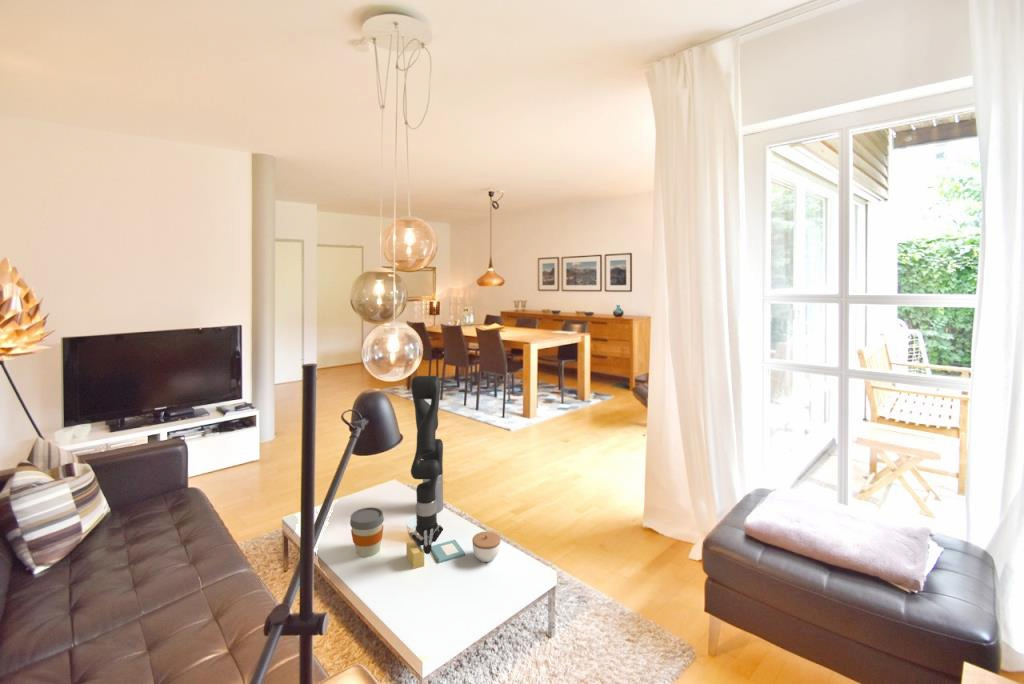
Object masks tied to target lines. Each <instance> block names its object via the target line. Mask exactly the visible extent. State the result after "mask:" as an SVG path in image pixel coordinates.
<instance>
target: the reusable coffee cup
mask: <svg viewBox="0 0 1024 684" xmlns="http://www.w3.org/2000/svg"><path fill="white" fill-rule="evenodd" d="M384 521H385V518H384V512H383V510H382V509H380V508H378V507H362V508H360V509H357V510H355V511H354V512H353V513H351V515H350V522H349V525H350V527H351V530H350V531H351V533H350V534H351V538H352V543H353V544H354V547H355V553H356V555H357V556H358V557H361V558H370V557H373V556H375V555H377V554H378V553H379V552H380V551H381V543H382V539H383V534H384V533H383V532H384V524H383V523H384Z"/></svg>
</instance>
